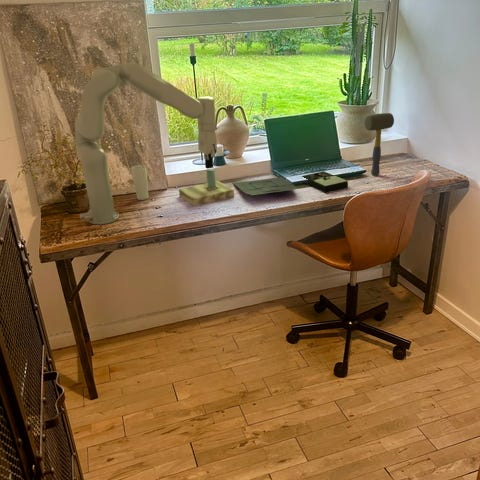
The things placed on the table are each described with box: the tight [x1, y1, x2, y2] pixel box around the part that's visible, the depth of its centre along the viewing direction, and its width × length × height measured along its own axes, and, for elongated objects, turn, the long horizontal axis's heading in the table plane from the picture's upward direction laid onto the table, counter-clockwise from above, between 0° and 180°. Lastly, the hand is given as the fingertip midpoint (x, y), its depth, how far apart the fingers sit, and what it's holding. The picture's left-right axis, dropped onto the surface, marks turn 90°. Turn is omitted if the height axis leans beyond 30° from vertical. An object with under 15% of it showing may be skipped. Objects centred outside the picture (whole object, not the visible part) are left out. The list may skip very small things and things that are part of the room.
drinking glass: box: [130, 164, 150, 201], centre depth 217 cm, size 7×7×15 cm
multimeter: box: [301, 170, 349, 194], centre depth 225 cm, size 13×19×5 cm
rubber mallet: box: [364, 112, 395, 177], centre depth 229 cm, size 12×8×30 cm, turn 108°
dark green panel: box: [233, 176, 297, 196], centre depth 223 cm, size 24×30×4 cm
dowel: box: [206, 168, 216, 190], centre depth 218 cm, size 4×4×12 cm
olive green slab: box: [178, 180, 235, 207], centre depth 218 cm, size 20×16×4 cm
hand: (209, 167), depth 214 cm, fingers closed
